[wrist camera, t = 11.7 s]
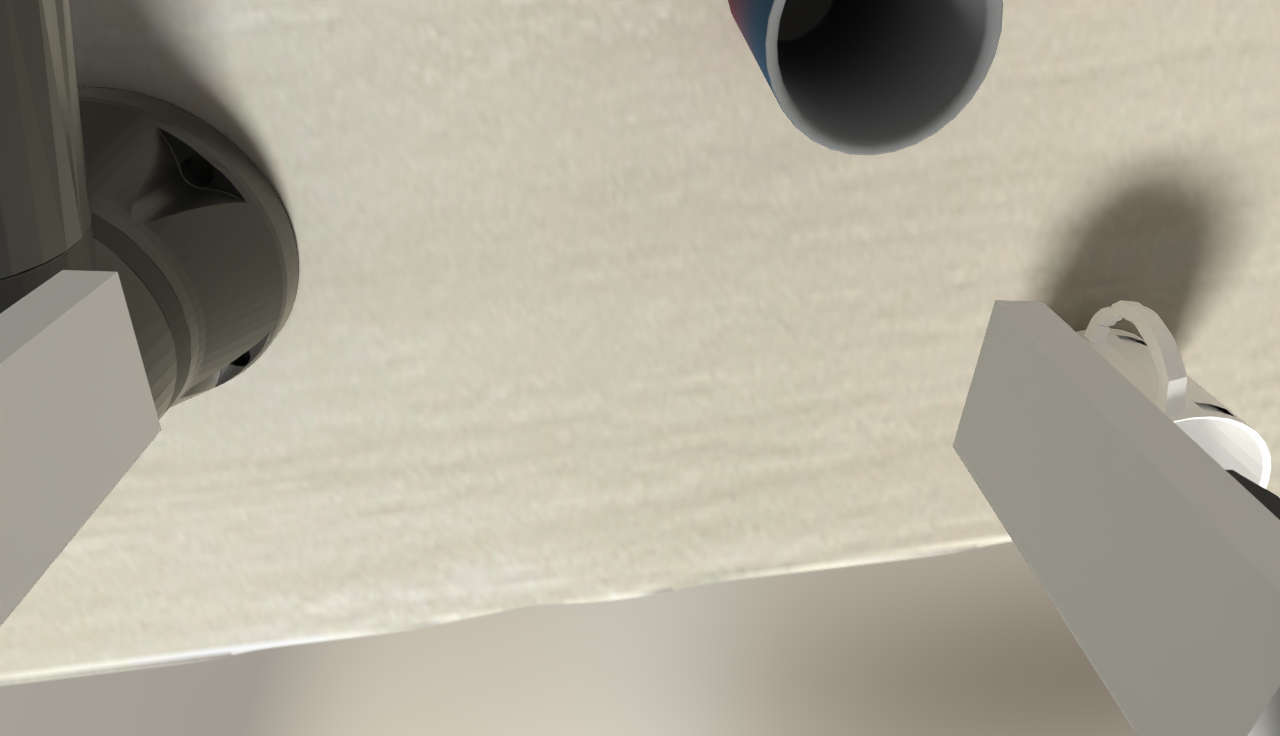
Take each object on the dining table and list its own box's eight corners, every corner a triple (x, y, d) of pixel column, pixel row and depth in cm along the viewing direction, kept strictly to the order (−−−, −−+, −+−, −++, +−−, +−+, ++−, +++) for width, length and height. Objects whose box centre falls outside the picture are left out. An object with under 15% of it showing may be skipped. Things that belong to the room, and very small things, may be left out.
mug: (1125, 459, 51) (1224, 566, 43) (981, 455, 50) (1054, 564, 42) (1202, 278, 45) (1334, 363, 37) (1040, 272, 44) (1138, 356, 36)
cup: (723, -115, 35) (796, -120, 22) (879, -88, 35) (1040, -77, 22) (694, 55, 38) (742, 139, 25) (837, 77, 39) (956, 169, 26)
